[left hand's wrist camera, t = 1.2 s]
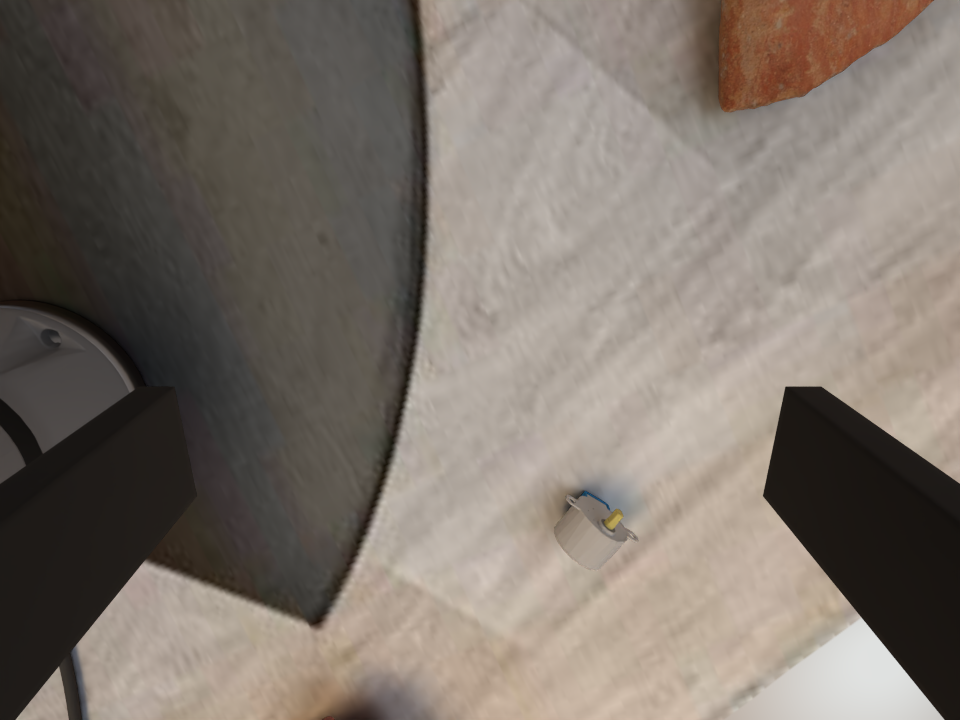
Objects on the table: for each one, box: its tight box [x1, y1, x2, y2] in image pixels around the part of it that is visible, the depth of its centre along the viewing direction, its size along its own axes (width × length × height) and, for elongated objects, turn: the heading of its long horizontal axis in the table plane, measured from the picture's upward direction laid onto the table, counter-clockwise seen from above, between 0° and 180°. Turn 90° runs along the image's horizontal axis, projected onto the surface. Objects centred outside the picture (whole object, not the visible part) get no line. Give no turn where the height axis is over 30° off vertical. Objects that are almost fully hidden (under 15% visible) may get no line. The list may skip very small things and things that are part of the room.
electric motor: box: [554, 491, 638, 570], centre depth 43 cm, size 7×5×5 cm
